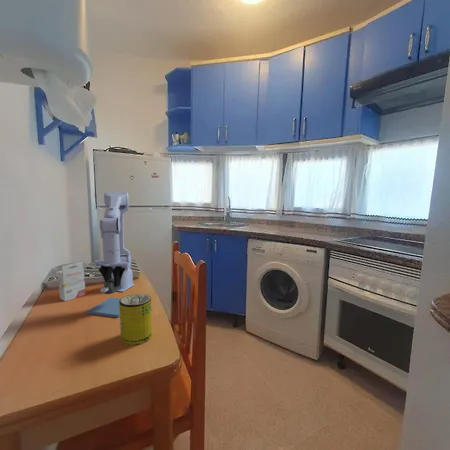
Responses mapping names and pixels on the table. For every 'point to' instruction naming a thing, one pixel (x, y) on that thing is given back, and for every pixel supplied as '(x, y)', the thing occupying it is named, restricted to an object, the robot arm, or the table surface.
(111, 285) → the dark grey rounded block
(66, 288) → the ink cartridge box
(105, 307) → the blue-grey mat
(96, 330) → the table surface
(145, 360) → the table surface
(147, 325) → the beverage can
